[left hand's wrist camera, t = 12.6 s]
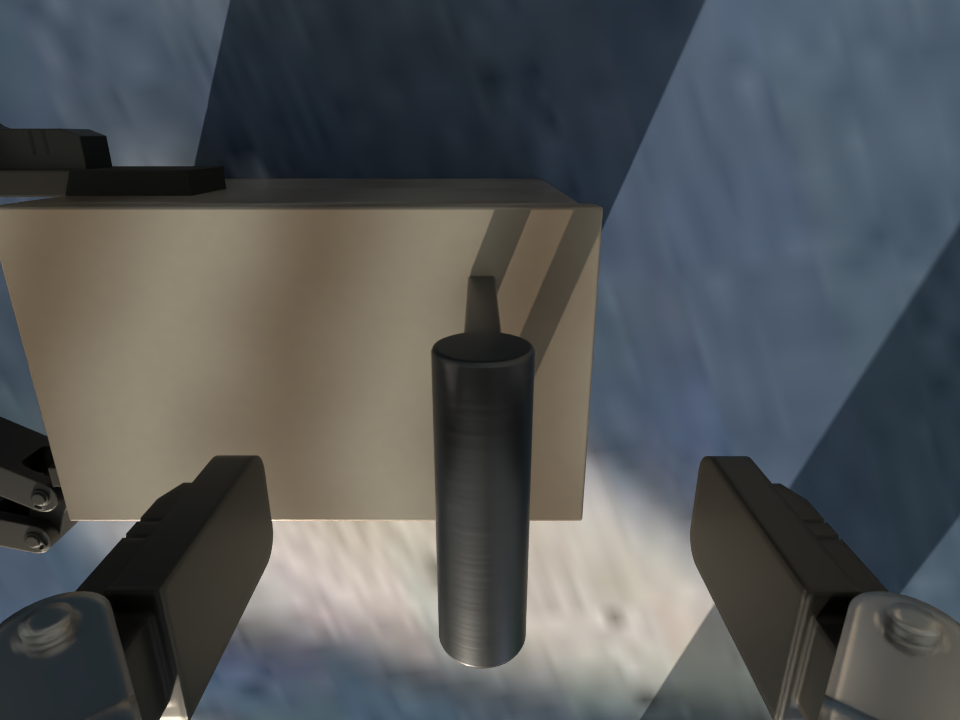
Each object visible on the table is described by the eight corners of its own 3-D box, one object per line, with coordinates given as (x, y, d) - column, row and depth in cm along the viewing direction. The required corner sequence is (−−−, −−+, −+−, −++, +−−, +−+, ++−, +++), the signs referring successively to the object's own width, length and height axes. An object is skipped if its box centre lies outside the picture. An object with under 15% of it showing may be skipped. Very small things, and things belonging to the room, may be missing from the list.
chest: (542, 178, 26) (579, 202, 16) (535, 379, 29) (563, 501, 20) (190, 178, 26) (14, 202, 16) (221, 379, 29) (90, 502, 20)
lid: (596, 203, 16) (697, 259, 9) (577, 502, 19) (638, 732, 12) (13, 202, 16) (-389, 259, 9) (89, 502, 19) (-158, 734, 12)
